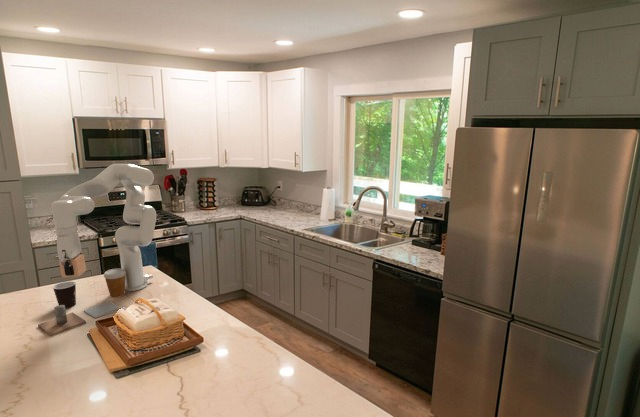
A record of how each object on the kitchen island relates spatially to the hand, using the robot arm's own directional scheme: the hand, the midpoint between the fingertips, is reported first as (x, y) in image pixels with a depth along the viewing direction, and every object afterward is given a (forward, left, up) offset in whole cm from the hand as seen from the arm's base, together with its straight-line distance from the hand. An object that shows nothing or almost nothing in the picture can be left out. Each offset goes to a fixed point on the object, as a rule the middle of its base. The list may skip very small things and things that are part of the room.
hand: (74, 271), depth 163 cm
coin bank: (0, 0, -1) cm, 1 cm away
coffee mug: (-3, -19, -21) cm, 28 cm away
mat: (-9, 0, -21) cm, 23 cm away
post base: (+7, 0, -21) cm, 22 cm away
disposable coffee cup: (-21, -11, -21) cm, 32 cm away
